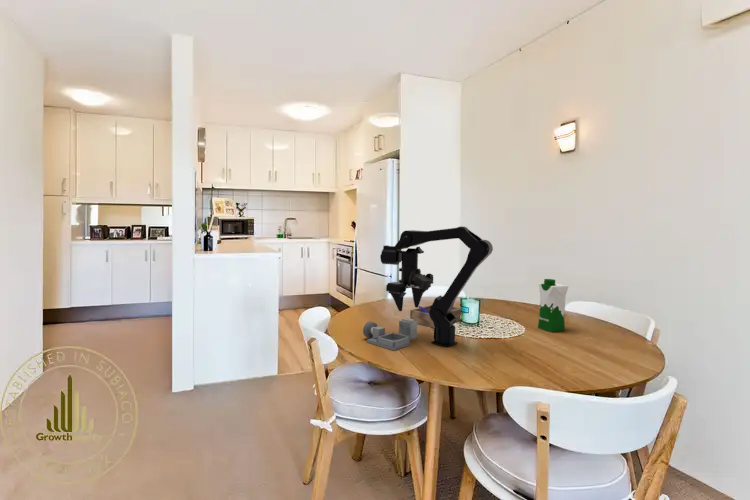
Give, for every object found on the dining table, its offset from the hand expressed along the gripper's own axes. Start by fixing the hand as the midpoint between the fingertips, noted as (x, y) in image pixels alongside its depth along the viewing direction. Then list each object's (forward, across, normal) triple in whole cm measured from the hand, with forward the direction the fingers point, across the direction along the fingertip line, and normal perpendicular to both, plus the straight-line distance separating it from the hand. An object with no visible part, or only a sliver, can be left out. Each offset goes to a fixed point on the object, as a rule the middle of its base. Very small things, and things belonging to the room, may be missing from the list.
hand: (408, 309), depth 144 cm
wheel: (+10, -10, +9) cm, 17 cm away
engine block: (+10, 0, 0) cm, 10 cm away
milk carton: (+11, +51, -32) cm, 61 cm away
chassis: (+10, -10, 0) cm, 15 cm away
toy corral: (+10, +28, +7) cm, 31 cm away
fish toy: (+10, +28, +7) cm, 31 cm away
